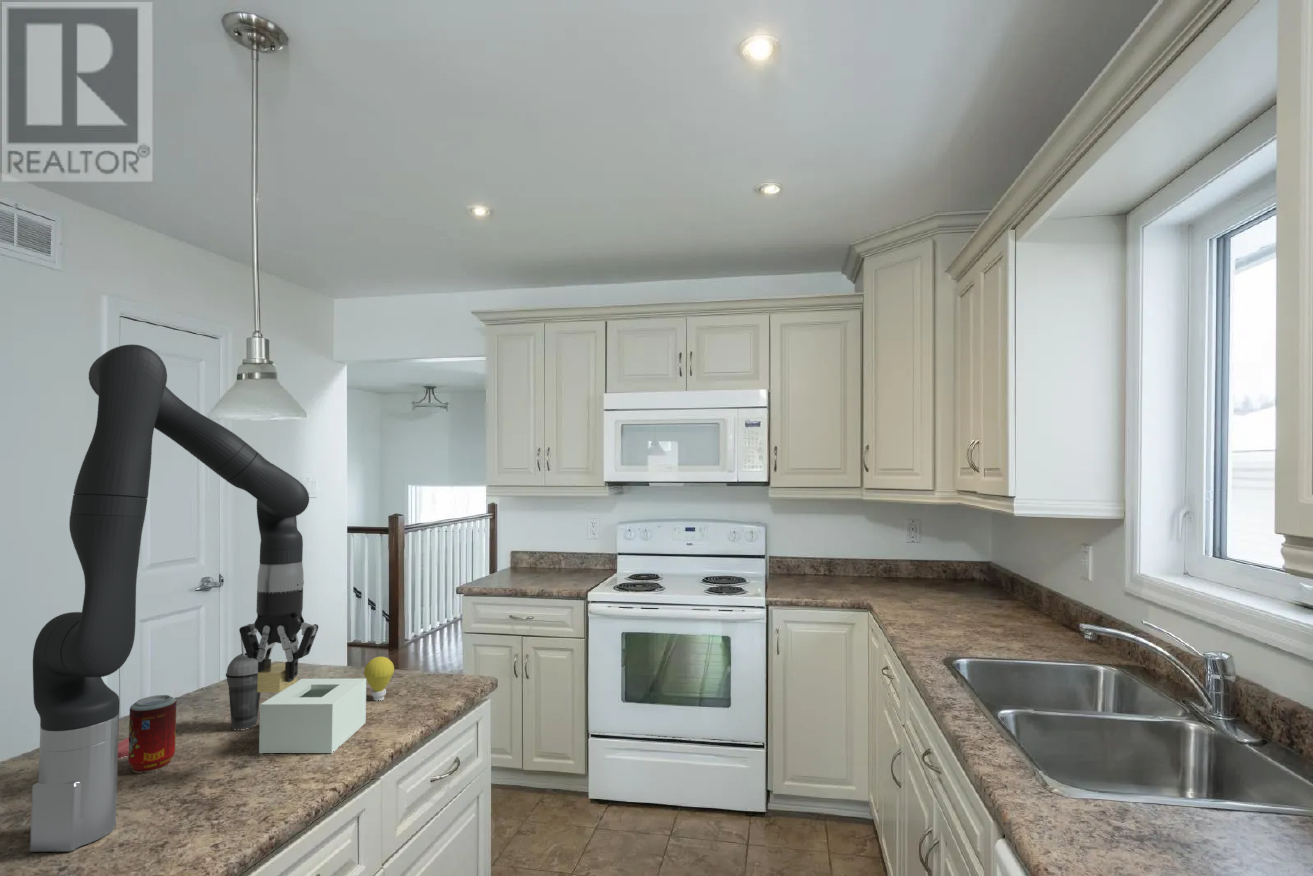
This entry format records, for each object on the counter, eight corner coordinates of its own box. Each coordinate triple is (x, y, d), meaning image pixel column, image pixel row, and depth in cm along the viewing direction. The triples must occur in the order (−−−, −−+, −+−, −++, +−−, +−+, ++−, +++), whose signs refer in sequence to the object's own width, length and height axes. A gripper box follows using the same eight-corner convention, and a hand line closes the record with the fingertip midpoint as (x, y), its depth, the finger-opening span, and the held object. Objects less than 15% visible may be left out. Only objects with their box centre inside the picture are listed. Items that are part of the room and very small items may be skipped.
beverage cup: (245, 734, 142) (247, 637, 143) (215, 732, 143) (218, 635, 144) (271, 722, 149) (273, 629, 150) (243, 719, 151) (245, 627, 151)
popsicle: (178, 722, 146) (128, 752, 131) (178, 730, 145) (127, 760, 131) (152, 723, 145) (98, 753, 130) (151, 730, 145) (98, 761, 130)
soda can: (122, 767, 127) (125, 700, 127) (168, 755, 132) (170, 690, 133) (133, 778, 122) (136, 708, 123) (180, 765, 128) (182, 698, 128)
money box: (331, 753, 133) (332, 704, 133) (259, 754, 132) (260, 704, 133) (365, 722, 149) (366, 678, 149) (300, 723, 148) (301, 678, 149)
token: (279, 692, 123) (279, 672, 123) (257, 692, 123) (257, 672, 123) (296, 682, 129) (297, 663, 129) (275, 682, 129) (276, 663, 129)
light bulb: (363, 697, 165) (363, 655, 166) (392, 693, 168) (393, 652, 168) (363, 705, 159) (364, 662, 159) (394, 701, 162) (395, 659, 162)
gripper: (229, 590, 123) (226, 687, 122) (308, 590, 123) (306, 687, 122) (253, 583, 131) (250, 675, 130) (328, 583, 131) (326, 675, 130)
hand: (277, 680), depth 126 cm, fingers closed on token, 4 cm apart
